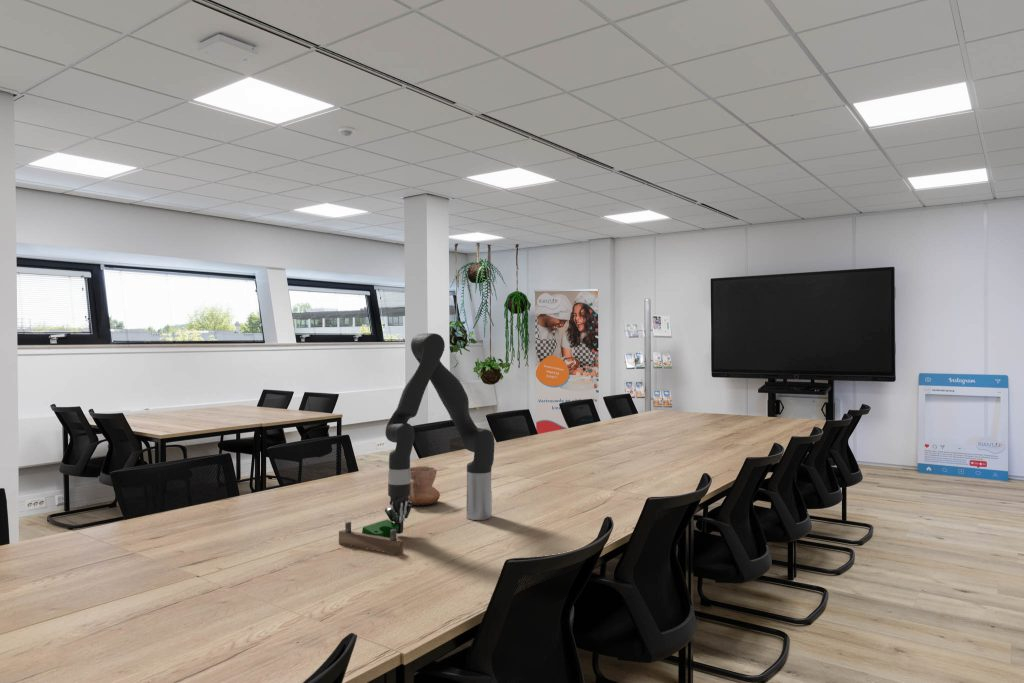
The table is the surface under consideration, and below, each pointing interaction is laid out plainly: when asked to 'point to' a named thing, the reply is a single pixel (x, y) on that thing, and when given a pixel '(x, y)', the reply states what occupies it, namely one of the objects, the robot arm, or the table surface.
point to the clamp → (380, 528)
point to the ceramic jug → (423, 485)
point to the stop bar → (371, 540)
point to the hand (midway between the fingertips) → (399, 532)
